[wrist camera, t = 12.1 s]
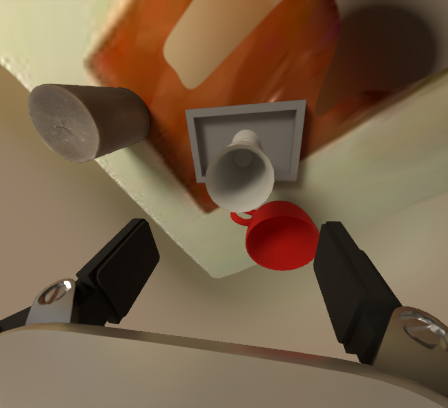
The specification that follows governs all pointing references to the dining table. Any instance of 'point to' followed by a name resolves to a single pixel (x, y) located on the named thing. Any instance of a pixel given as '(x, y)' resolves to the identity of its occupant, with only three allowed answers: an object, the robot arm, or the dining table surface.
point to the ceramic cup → (279, 235)
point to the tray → (255, 121)
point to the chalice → (240, 174)
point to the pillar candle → (87, 119)
